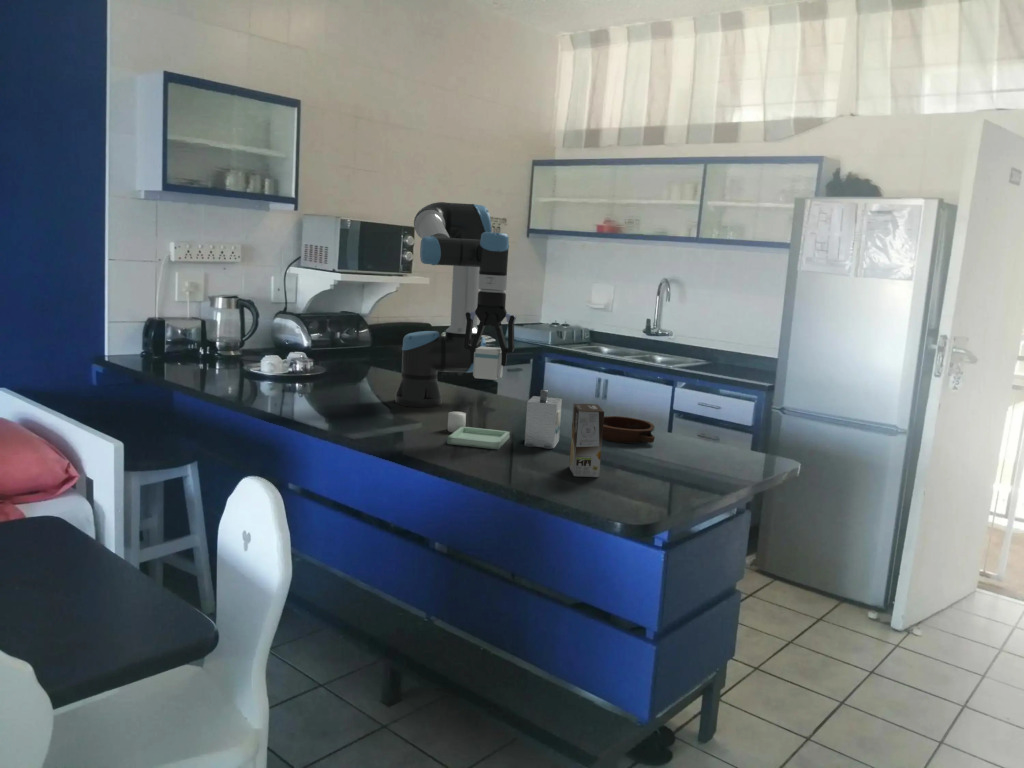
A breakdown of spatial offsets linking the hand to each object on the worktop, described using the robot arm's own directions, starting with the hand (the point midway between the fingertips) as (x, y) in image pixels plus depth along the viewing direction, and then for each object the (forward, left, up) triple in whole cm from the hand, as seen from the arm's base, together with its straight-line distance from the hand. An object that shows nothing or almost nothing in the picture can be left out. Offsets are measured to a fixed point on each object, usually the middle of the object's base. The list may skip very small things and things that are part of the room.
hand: (487, 376), depth 225 cm
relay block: (0, 0, 0) cm, 0 cm away
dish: (+36, +18, -18) cm, 44 cm away
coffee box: (+30, -22, -18) cm, 41 cm away
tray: (-1, -3, -18) cm, 18 cm away
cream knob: (-10, +6, -18) cm, 21 cm away
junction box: (+16, +2, -18) cm, 24 cm away
